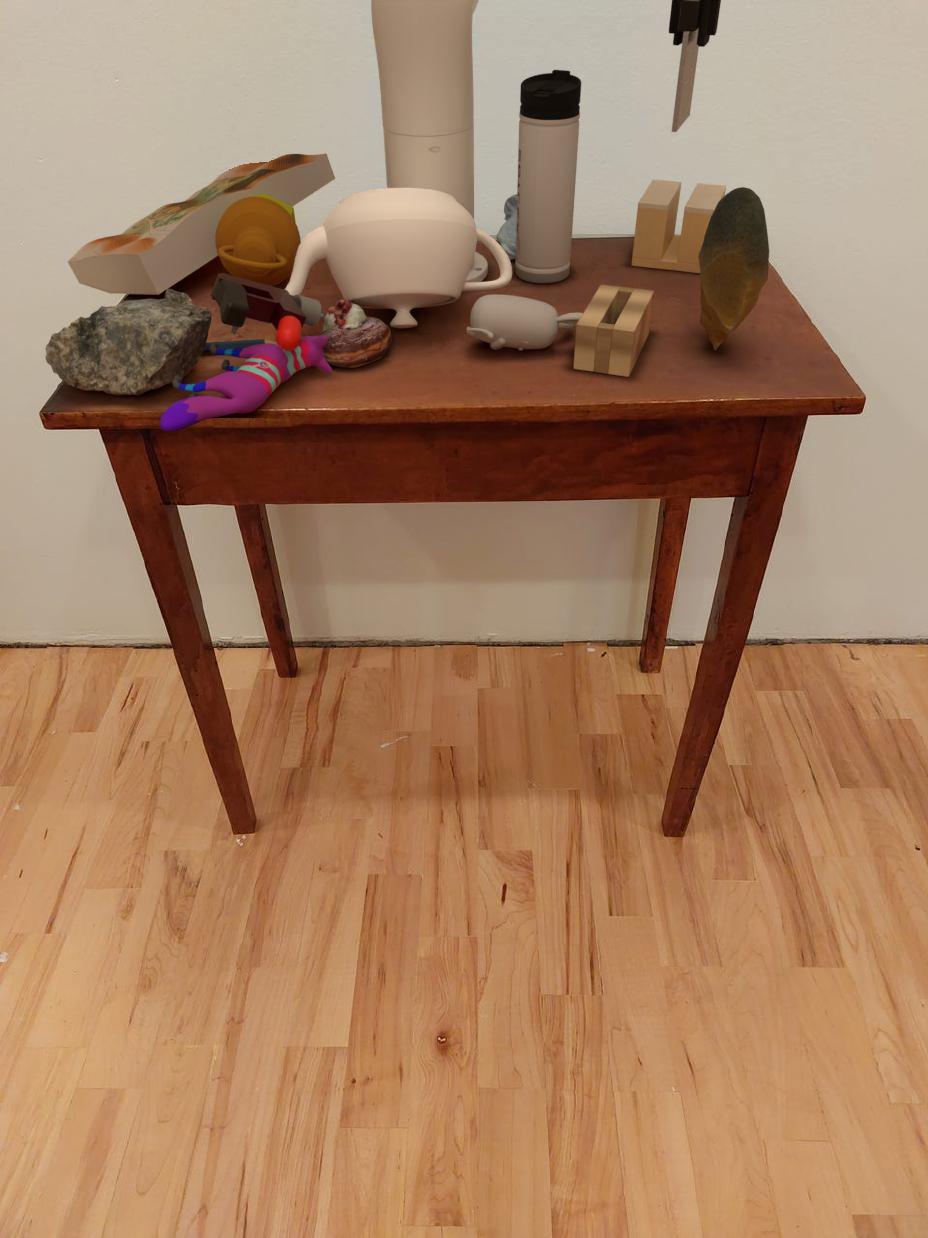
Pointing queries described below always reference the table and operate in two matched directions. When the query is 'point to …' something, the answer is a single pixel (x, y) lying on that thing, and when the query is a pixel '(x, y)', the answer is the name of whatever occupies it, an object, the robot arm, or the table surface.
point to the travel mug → (546, 175)
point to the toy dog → (243, 381)
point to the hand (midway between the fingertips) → (691, 41)
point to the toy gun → (265, 308)
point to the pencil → (237, 344)
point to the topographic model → (191, 227)
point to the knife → (687, 60)
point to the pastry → (353, 336)
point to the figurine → (509, 228)
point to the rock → (131, 345)
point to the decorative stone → (732, 263)
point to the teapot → (398, 251)
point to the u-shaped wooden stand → (673, 226)
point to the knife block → (613, 330)
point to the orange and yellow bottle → (258, 239)
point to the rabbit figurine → (517, 322)
